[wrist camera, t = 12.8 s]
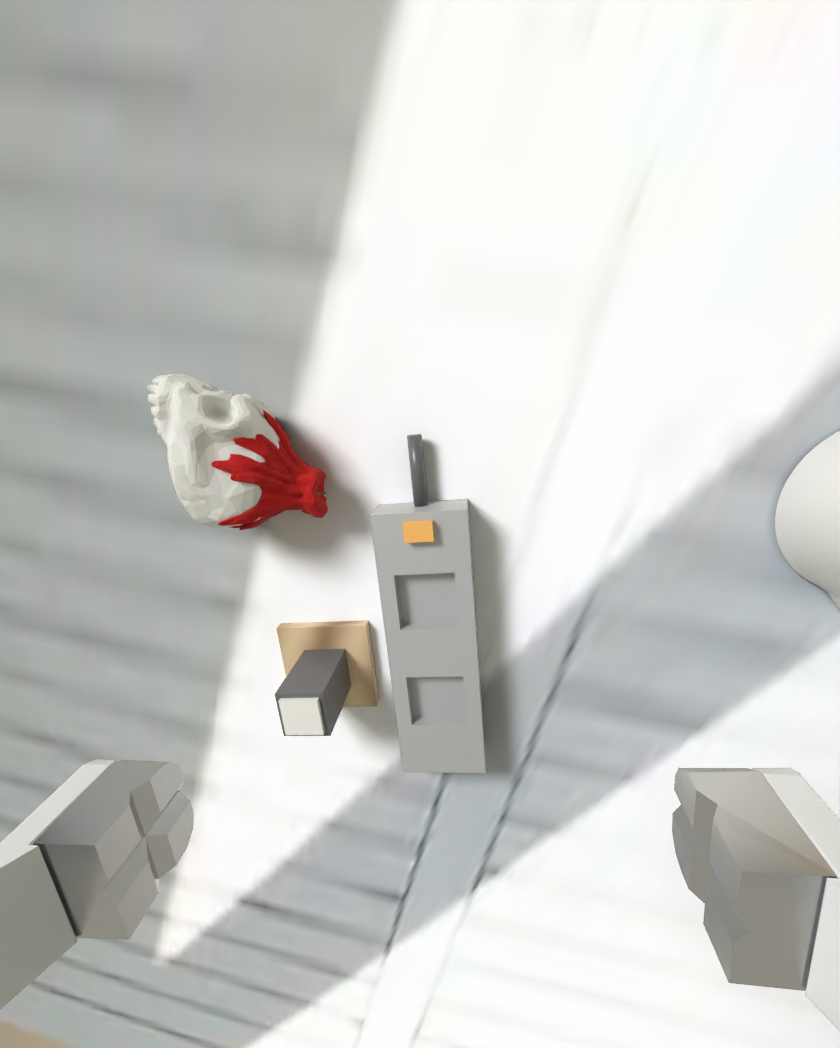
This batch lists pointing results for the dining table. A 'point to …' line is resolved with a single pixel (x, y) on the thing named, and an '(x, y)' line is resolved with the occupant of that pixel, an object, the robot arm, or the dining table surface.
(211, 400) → the white red lumpy piece
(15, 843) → the robot arm
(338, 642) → the cork coaster
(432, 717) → the power strip
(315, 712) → the block
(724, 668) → the dining table surface
